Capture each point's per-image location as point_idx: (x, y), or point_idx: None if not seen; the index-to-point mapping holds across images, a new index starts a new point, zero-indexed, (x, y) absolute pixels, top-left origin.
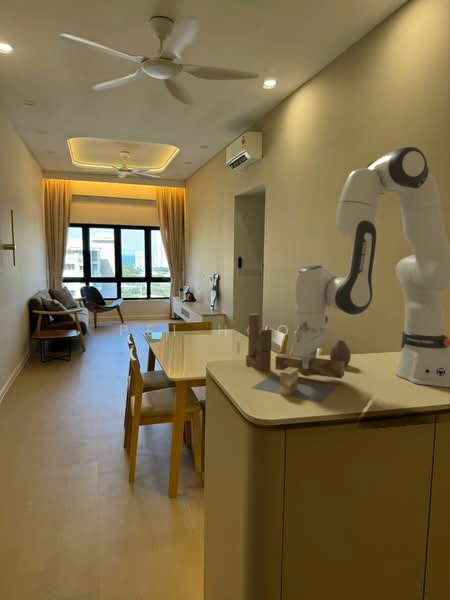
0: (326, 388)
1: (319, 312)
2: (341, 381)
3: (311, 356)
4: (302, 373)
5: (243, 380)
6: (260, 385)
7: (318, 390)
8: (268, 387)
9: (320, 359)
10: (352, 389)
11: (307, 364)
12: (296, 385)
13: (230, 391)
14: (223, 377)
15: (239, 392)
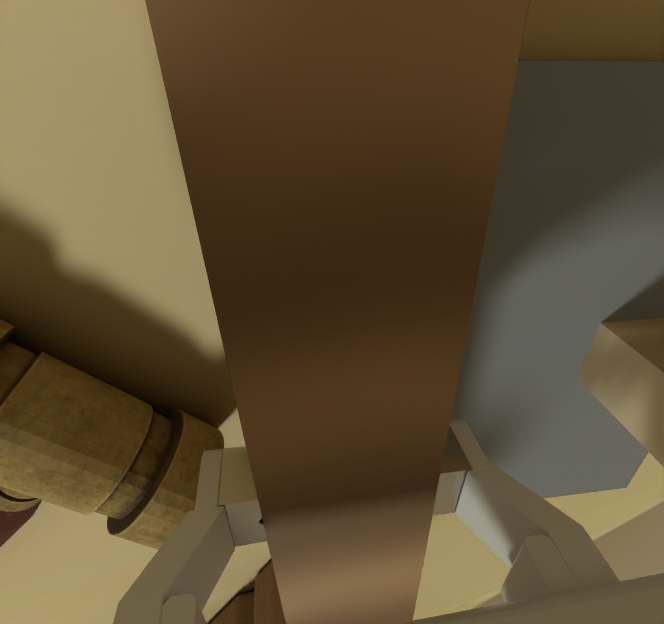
0: (505, 145)
1: None
2: (79, 94)
3: (223, 549)
4: (221, 435)
5: (480, 548)
6: (578, 479)
7: (583, 190)
8: (601, 444)
9: (303, 438)
10: None
11: (482, 458)
12: (650, 342)
13: (642, 512)
14: (474, 596)
15: (648, 489)
